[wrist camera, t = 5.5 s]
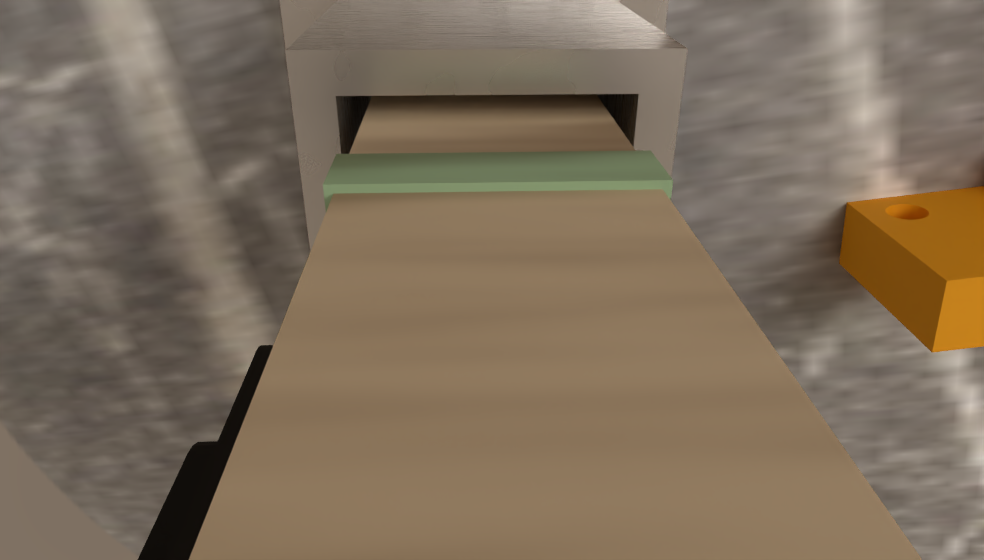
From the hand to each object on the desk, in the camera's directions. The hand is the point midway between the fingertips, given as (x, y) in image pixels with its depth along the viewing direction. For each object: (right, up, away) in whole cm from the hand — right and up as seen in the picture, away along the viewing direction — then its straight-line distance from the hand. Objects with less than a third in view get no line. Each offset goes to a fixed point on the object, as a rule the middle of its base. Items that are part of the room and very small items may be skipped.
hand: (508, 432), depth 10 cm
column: (0, +5, +9) cm, 10 cm away
